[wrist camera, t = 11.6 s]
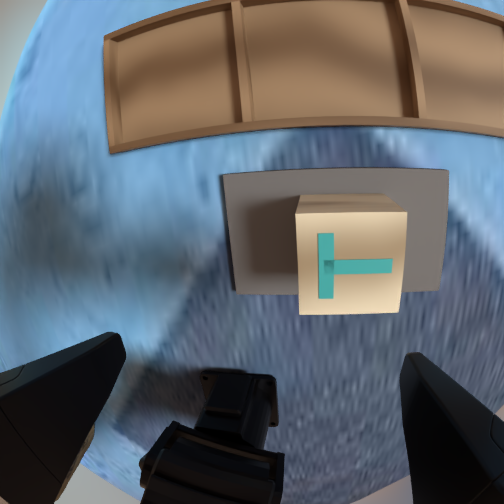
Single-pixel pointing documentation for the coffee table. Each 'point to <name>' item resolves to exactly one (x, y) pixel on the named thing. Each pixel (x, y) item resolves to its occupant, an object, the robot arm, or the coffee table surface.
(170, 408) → the coffee table surface
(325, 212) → the letter block
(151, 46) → the bay tray
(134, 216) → the coffee table surface
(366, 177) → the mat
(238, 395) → the robot arm
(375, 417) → the coffee table surface
